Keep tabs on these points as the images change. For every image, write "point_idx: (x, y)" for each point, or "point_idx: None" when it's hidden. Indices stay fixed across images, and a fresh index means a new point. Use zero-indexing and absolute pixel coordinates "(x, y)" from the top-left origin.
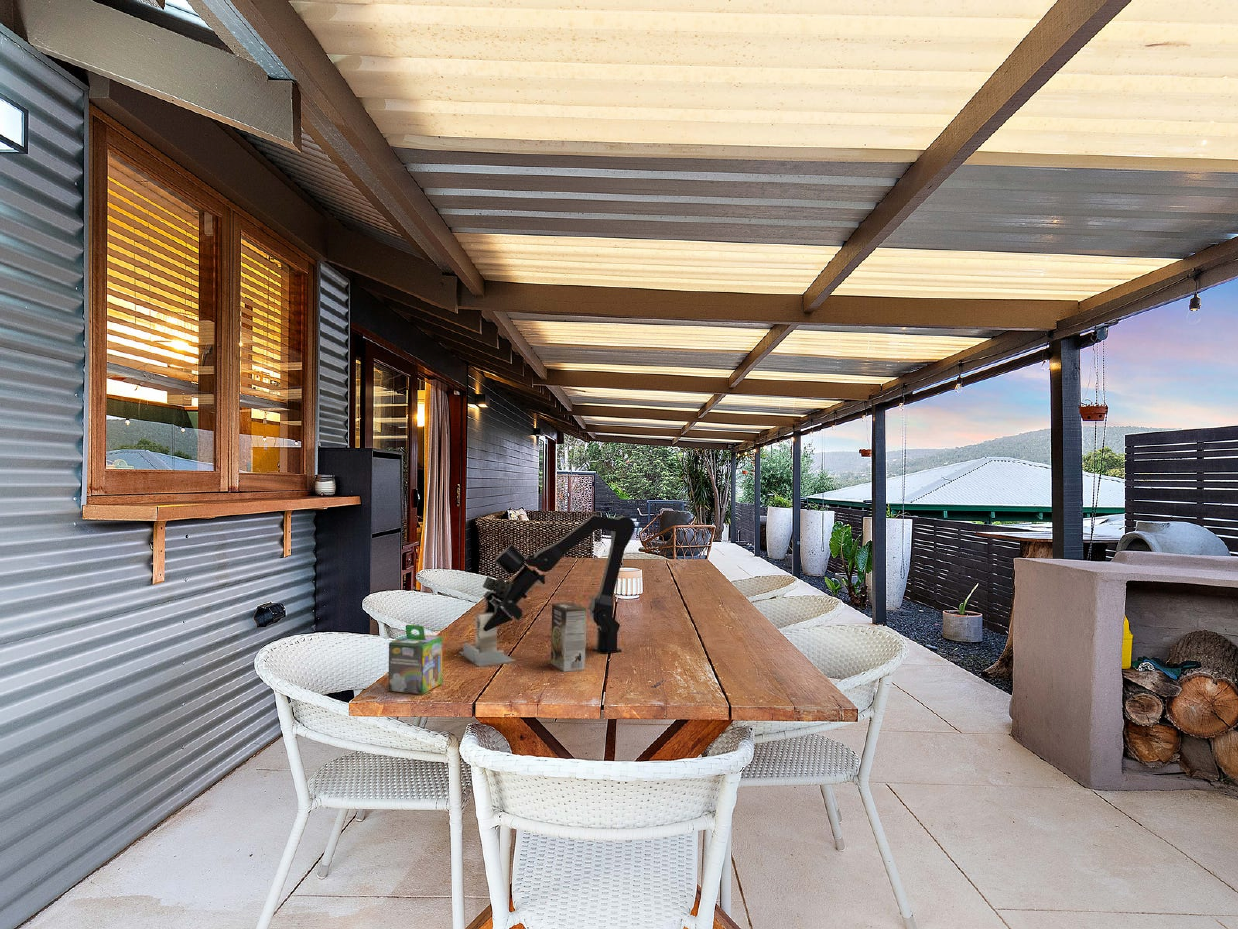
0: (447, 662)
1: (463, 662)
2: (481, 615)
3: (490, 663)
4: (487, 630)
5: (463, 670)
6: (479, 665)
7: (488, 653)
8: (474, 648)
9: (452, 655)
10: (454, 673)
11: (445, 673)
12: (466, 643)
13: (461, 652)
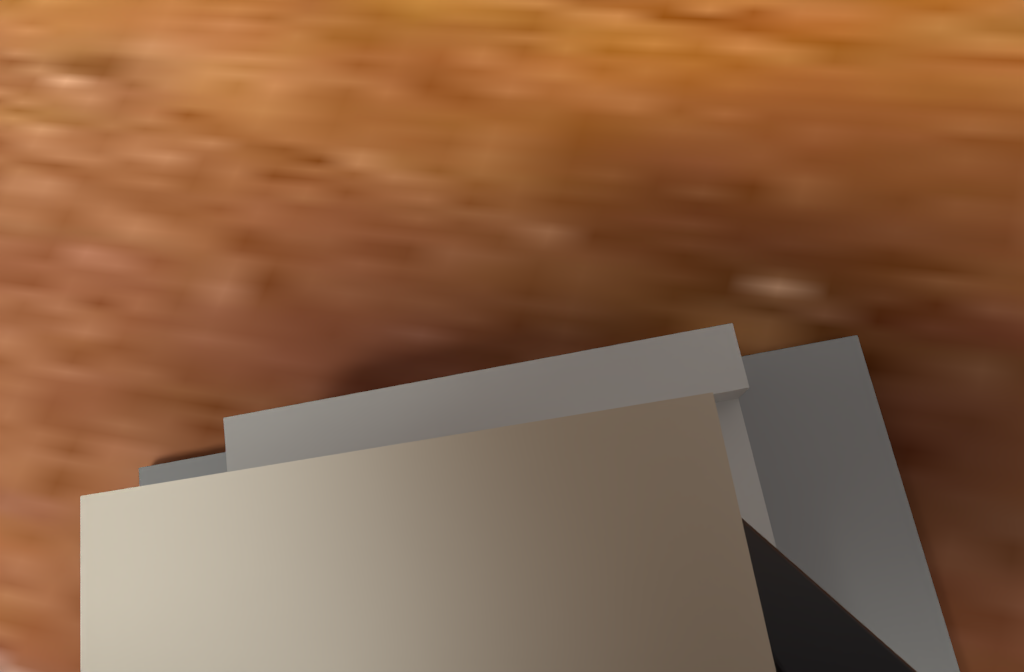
0: (471, 172)
1: (413, 332)
2: (222, 524)
3: None
4: None
5: (96, 291)
6: (140, 473)
7: None
8: (359, 431)
9: (776, 252)
10: (32, 198)
11: (71, 121)
12: (716, 363)
13: (827, 355)
